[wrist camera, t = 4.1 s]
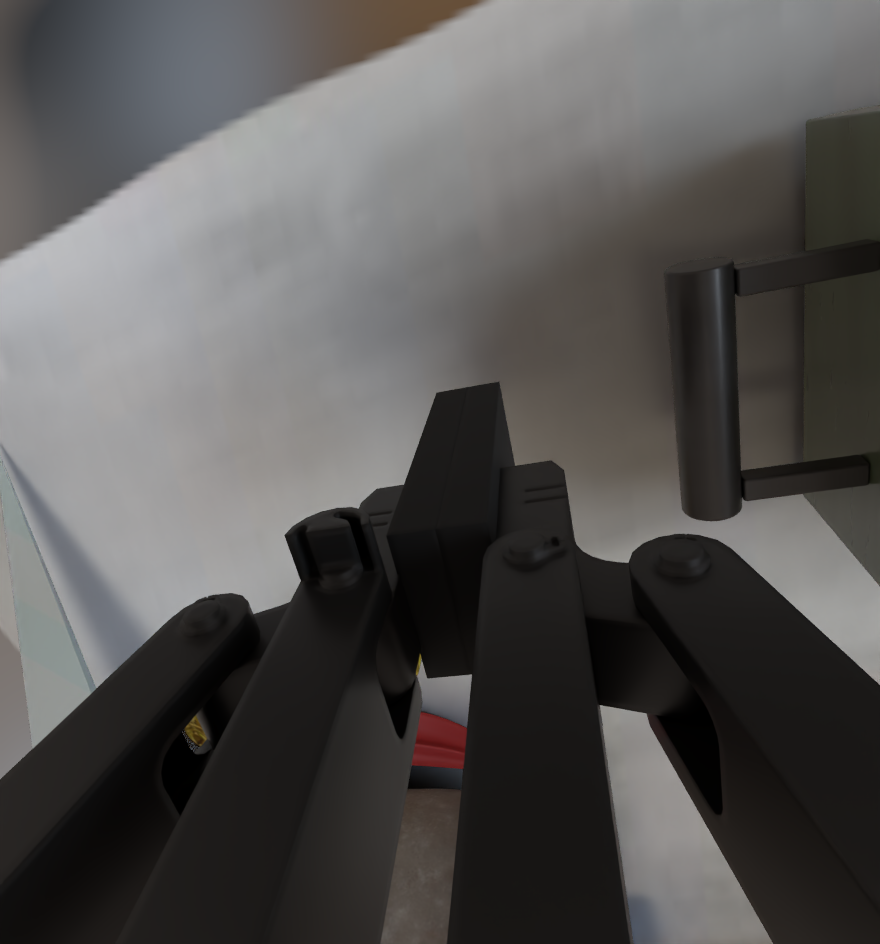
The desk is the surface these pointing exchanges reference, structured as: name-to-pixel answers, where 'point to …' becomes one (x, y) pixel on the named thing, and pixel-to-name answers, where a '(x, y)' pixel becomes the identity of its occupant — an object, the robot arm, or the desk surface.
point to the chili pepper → (439, 742)
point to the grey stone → (423, 869)
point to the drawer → (825, 349)
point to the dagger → (41, 627)
